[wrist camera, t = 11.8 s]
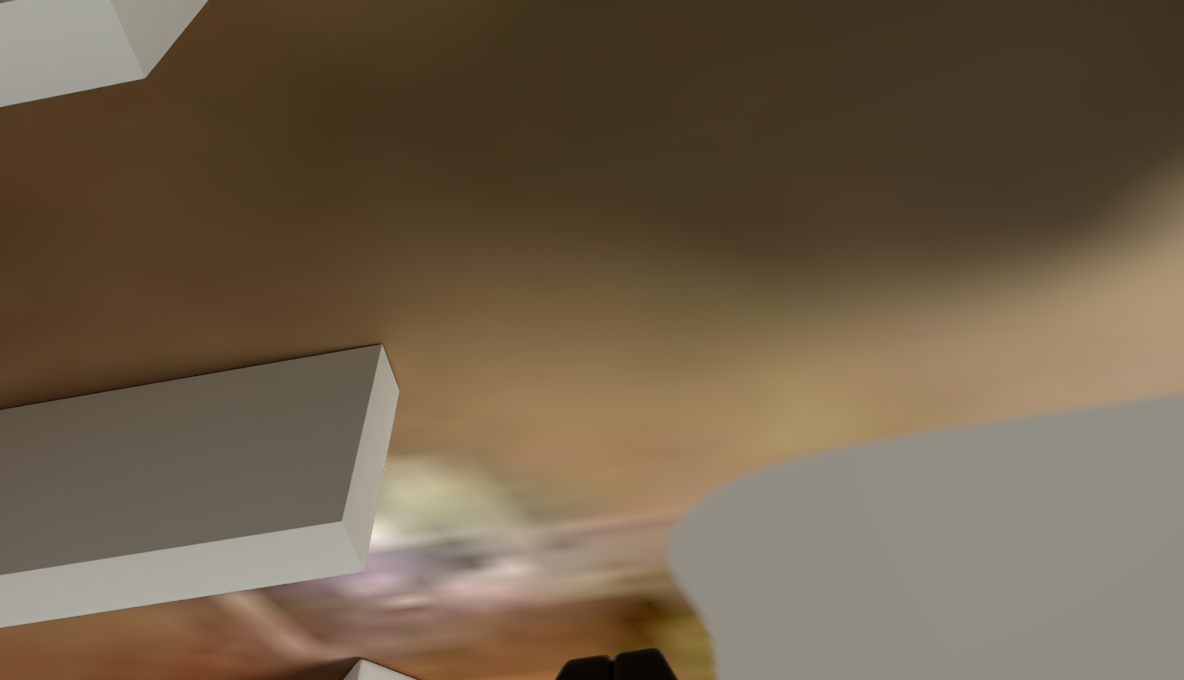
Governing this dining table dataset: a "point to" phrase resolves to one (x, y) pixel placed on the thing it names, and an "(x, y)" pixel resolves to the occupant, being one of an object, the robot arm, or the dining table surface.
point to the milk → (373, 672)
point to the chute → (175, 415)
